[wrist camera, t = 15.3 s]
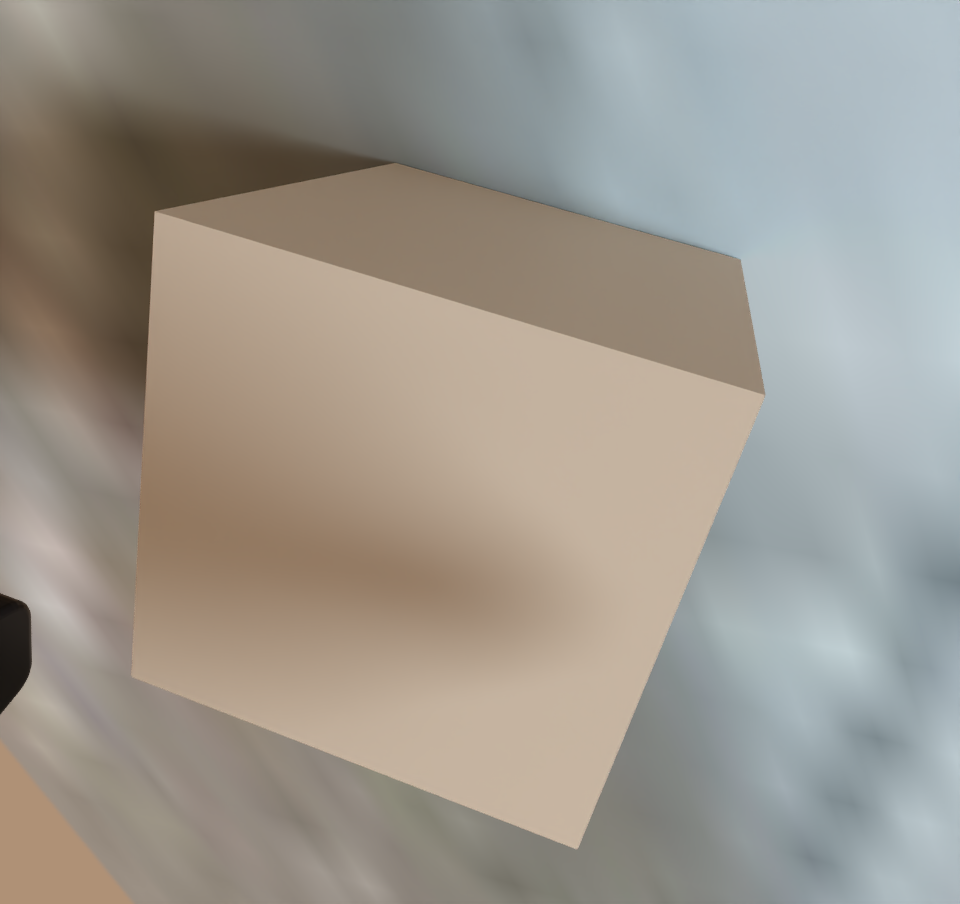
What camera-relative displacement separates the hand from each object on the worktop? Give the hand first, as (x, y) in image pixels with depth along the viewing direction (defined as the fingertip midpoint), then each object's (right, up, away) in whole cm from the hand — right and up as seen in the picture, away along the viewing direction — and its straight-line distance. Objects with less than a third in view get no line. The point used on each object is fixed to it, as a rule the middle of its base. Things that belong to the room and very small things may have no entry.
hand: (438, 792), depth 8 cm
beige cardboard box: (+1, +5, +11) cm, 13 cm away
